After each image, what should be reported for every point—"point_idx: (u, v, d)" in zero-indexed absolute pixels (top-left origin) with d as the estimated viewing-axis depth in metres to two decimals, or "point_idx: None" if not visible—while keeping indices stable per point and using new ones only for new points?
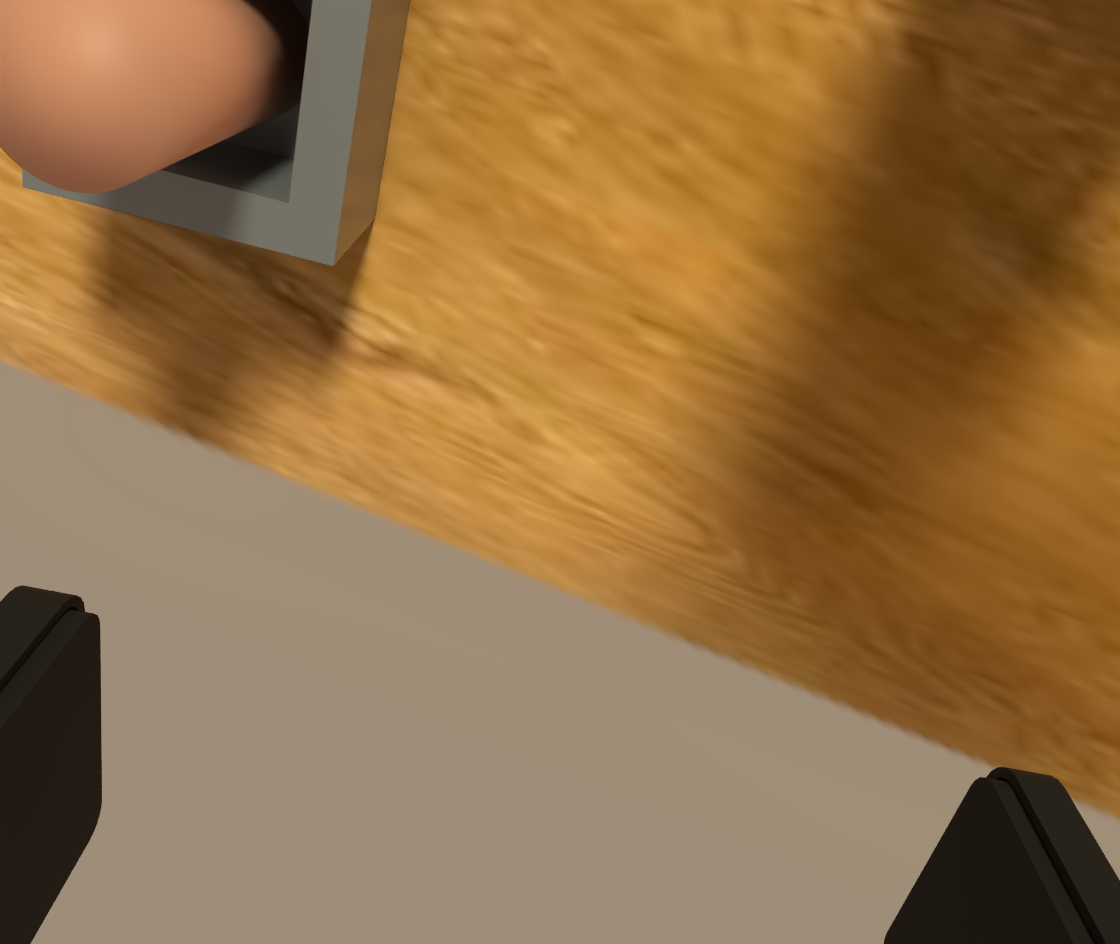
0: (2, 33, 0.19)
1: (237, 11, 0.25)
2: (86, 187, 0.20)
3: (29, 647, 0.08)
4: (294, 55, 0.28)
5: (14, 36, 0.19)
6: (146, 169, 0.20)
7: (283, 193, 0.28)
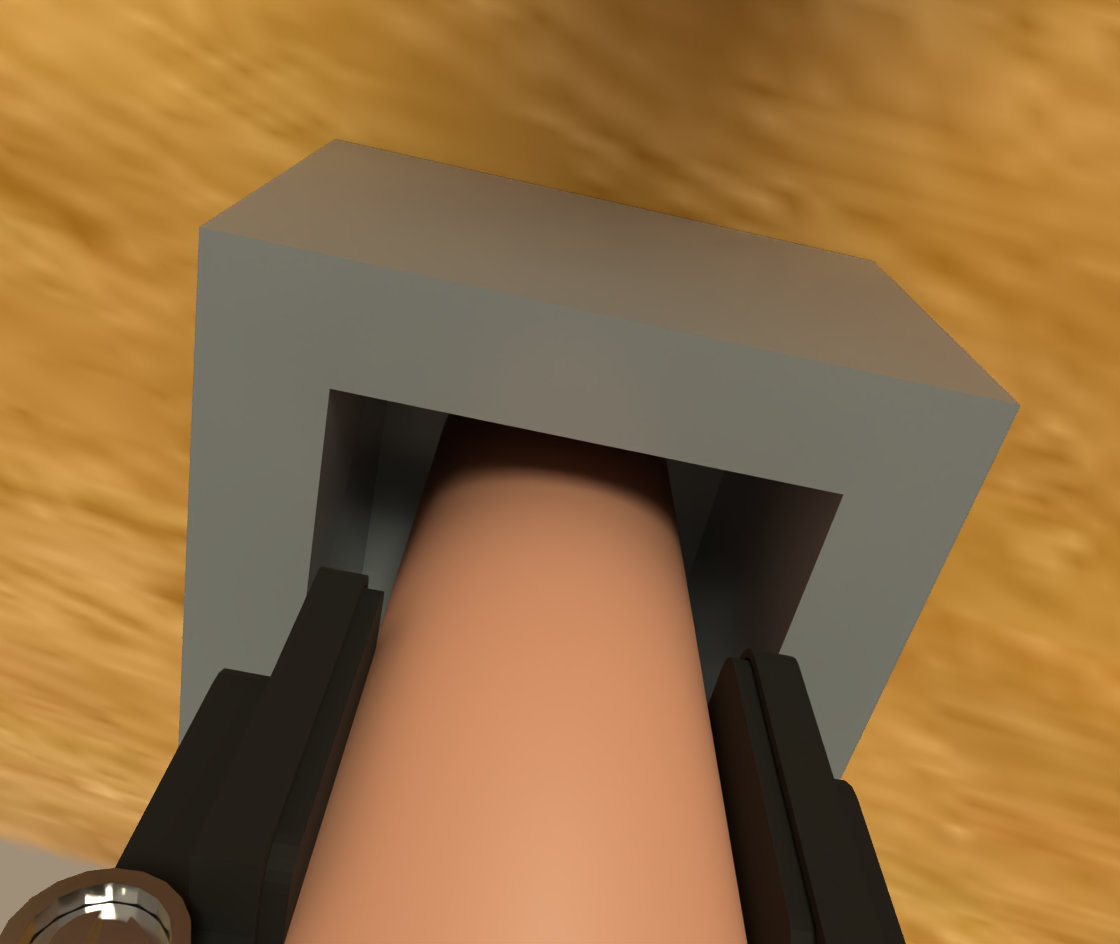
0: None
1: (658, 566, 0.11)
2: None
3: (350, 618, 0.09)
4: None
5: None
6: None
7: None
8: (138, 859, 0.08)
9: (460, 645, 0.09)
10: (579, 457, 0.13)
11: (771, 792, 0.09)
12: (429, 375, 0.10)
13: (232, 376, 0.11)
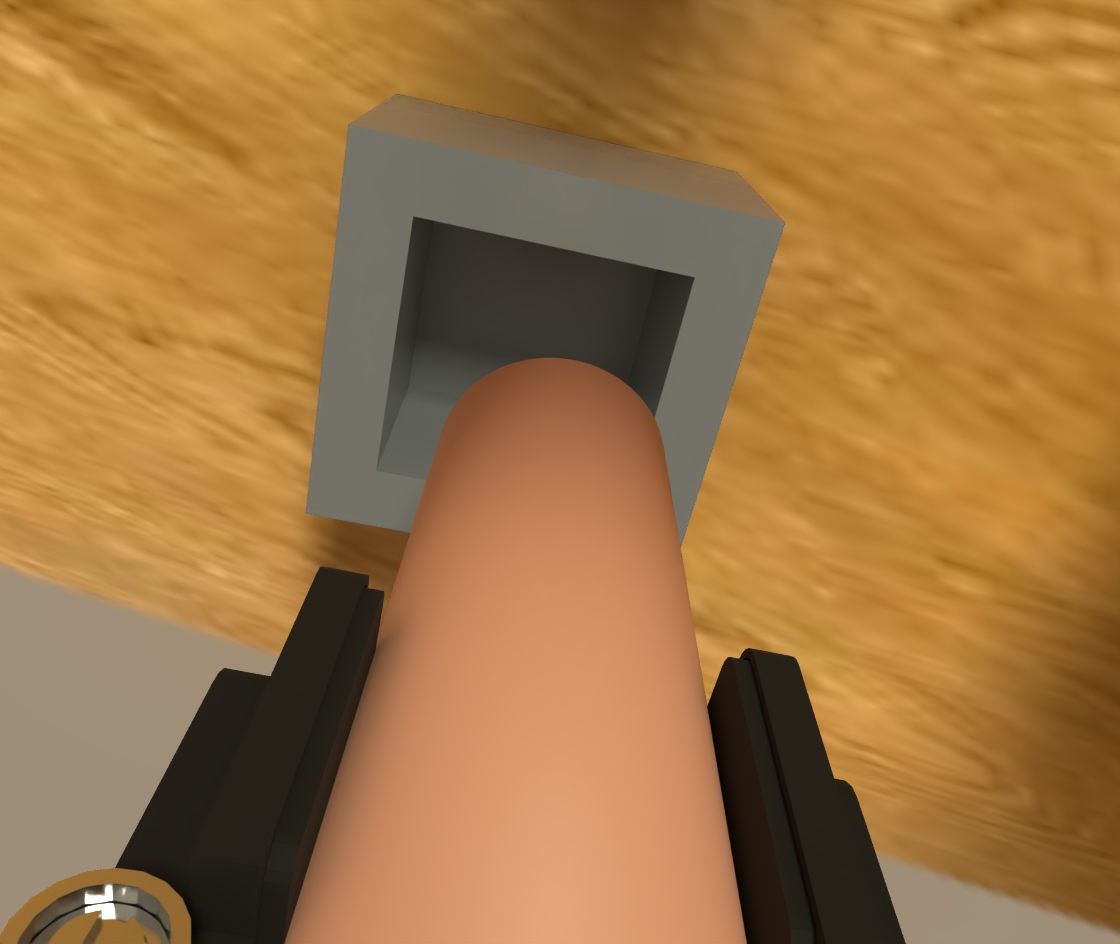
0: None
1: (659, 565, 0.11)
2: None
3: (350, 618, 0.09)
4: None
5: None
6: None
7: None
8: (138, 859, 0.08)
9: (460, 645, 0.09)
10: (579, 457, 0.13)
11: (771, 792, 0.09)
12: (467, 207, 0.19)
13: (360, 209, 0.20)
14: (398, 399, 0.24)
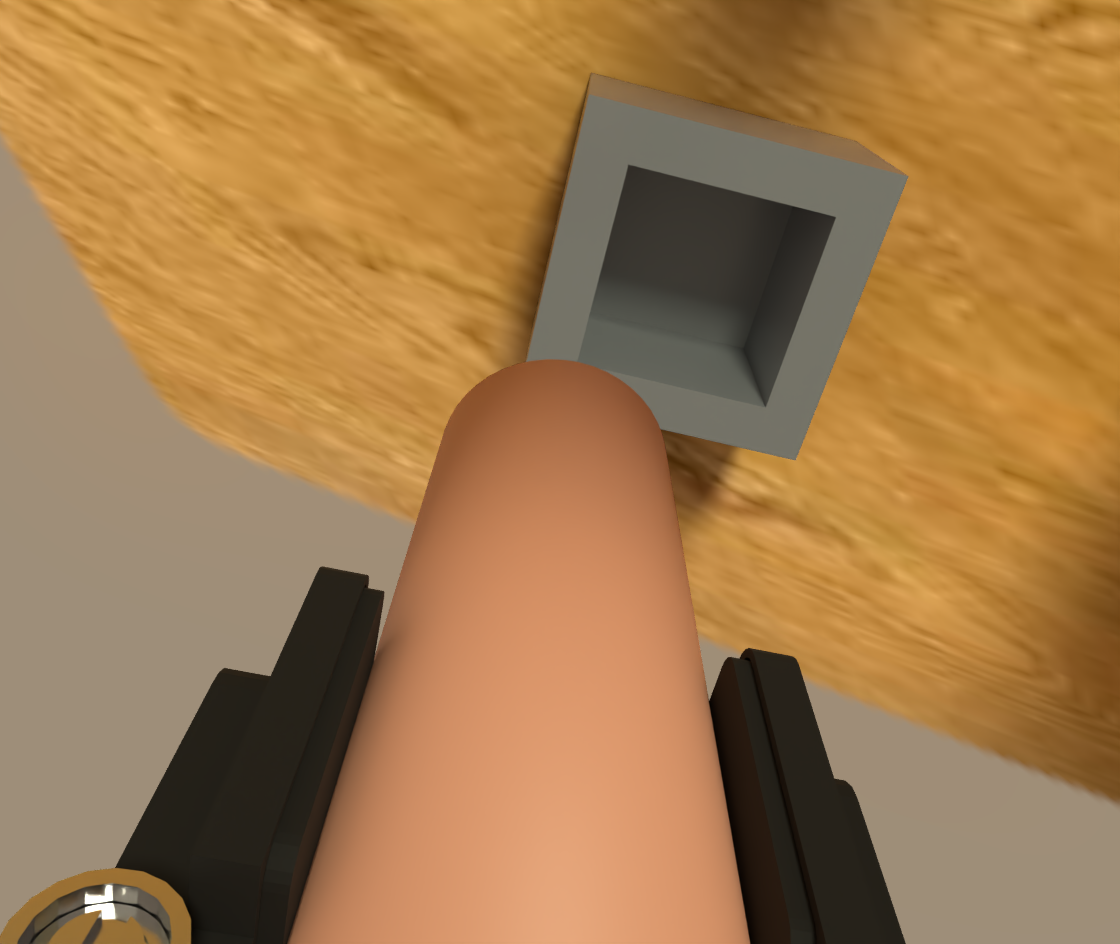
0: None
1: (662, 568, 0.11)
2: None
3: (350, 619, 0.09)
4: None
5: None
6: None
7: (749, 394, 0.30)
8: (138, 859, 0.08)
9: (464, 648, 0.09)
10: (581, 460, 0.13)
11: (771, 792, 0.09)
12: (670, 159, 0.26)
13: (589, 158, 0.26)
14: None
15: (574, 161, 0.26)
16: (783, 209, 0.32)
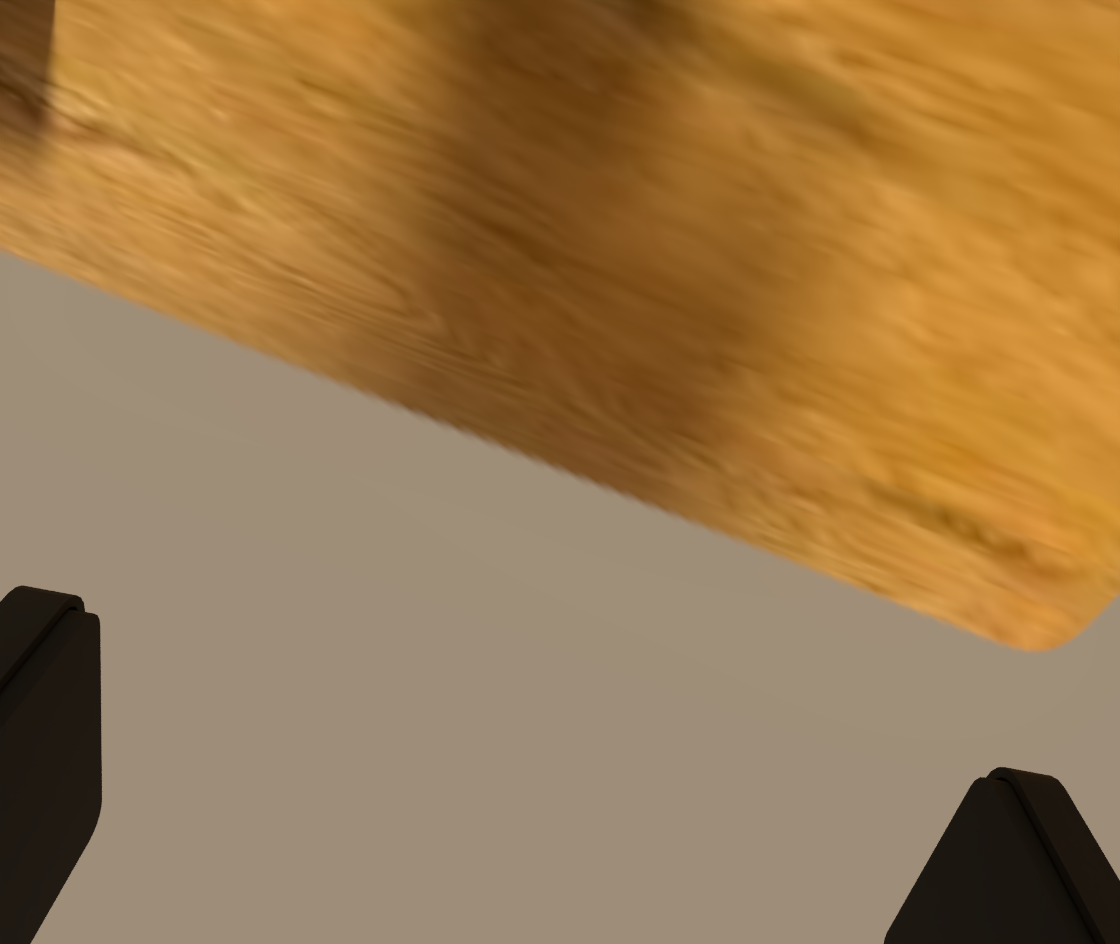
0: None
1: None
2: None
3: (29, 647, 0.08)
4: None
5: None
6: None
7: None
8: None
9: None
10: None
11: None
12: None
13: None
14: None
15: None
16: None
